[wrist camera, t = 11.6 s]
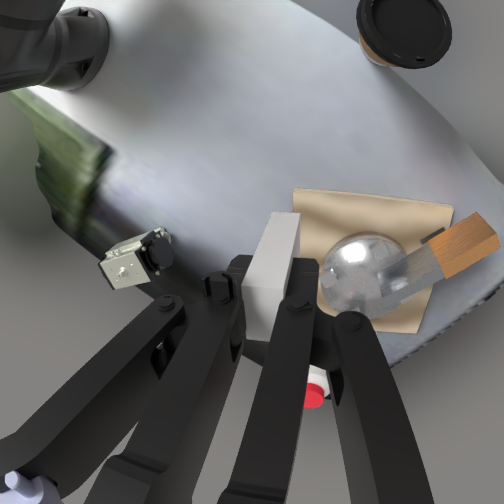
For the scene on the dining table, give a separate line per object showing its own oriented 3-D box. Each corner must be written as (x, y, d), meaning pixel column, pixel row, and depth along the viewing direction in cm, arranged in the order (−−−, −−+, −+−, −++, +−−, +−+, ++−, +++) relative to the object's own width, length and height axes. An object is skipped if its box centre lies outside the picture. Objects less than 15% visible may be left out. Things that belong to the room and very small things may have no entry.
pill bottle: (343, 353, 53) (340, 402, 44) (313, 370, 57) (305, 416, 48) (315, 330, 52) (307, 379, 43) (284, 349, 56) (272, 396, 47)
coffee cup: (356, 78, 32) (371, 68, 19) (342, 16, 28) (346, -26, 15) (420, 75, 29) (467, 69, 17) (407, 14, 25) (443, -23, 13)
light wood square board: (294, 187, 41) (292, 191, 39) (450, 204, 36) (453, 209, 34) (289, 315, 52) (287, 322, 50) (415, 327, 47) (416, 334, 45)
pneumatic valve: (193, 241, 49) (157, 283, 39) (141, 256, 54) (103, 295, 43) (178, 210, 47) (137, 246, 37) (127, 229, 51) (84, 265, 41)
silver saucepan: (349, 320, 47) (348, 360, 40) (303, 260, 44) (296, 295, 37) (486, 248, 35) (509, 280, 28) (455, 170, 32) (481, 191, 25)
